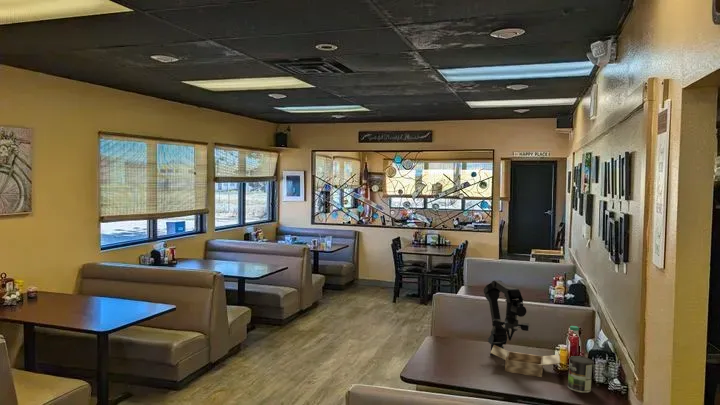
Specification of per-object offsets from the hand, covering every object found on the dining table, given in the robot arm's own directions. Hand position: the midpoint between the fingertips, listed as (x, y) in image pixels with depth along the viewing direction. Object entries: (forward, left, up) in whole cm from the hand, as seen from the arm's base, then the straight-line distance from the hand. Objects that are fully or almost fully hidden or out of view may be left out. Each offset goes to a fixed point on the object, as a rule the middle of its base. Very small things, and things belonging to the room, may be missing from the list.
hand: (509, 340), depth 285 cm
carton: (+8, -7, -12) cm, 16 cm away
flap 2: (+21, -7, -5) cm, 23 cm away
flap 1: (-4, -7, -5) cm, 9 cm away
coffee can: (+34, -23, -13) cm, 43 cm away
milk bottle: (+32, +17, -13) cm, 39 cm away
